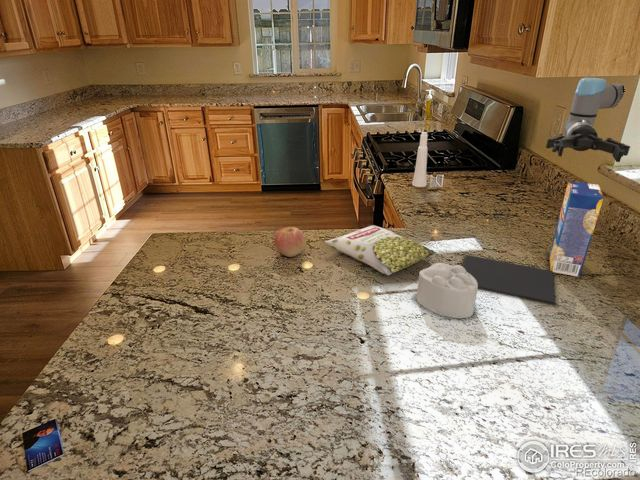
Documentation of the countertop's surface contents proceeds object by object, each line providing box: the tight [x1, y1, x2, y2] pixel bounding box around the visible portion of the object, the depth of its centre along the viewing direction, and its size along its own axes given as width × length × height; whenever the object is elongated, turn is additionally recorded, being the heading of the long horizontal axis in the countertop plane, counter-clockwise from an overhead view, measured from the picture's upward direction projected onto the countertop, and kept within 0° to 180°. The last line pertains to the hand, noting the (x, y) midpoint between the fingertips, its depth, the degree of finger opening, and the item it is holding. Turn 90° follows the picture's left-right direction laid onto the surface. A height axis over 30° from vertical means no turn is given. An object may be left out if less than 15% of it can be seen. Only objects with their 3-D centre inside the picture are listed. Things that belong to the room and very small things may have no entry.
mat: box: [462, 254, 555, 305], centre depth 111 cm, size 22×16×1 cm
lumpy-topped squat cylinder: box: [416, 262, 479, 319], centre depth 99 cm, size 10×13×9 cm
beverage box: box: [549, 180, 604, 278], centre depth 112 cm, size 7×11×22 cm, turn 155°
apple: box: [273, 226, 306, 258], centre depth 122 cm, size 9×9×8 cm
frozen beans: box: [324, 224, 438, 276], centre depth 121 cm, size 21×6×25 cm
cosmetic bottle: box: [411, 131, 429, 188], centre depth 174 cm, size 6×6×22 cm
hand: (589, 154), depth 113 cm, fingers open, 13 cm apart
